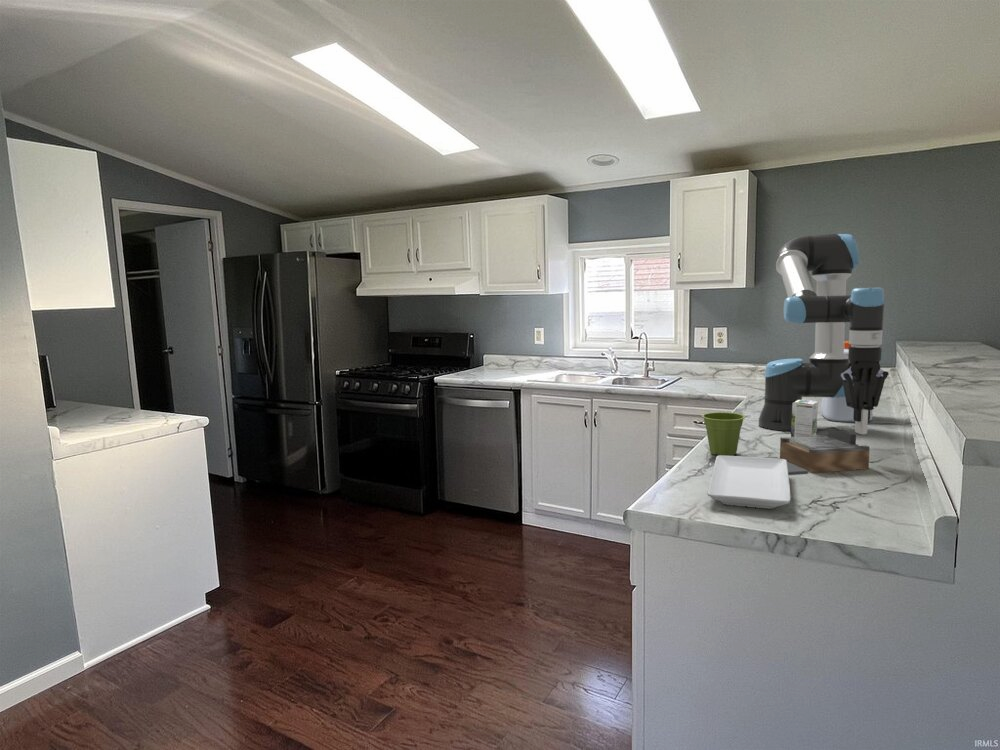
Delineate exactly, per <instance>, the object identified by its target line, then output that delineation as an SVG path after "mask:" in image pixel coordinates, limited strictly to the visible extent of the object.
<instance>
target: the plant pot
mask: <svg viewBox="0 0 1000 750" xmlns="http://www.w3.org/2000/svg"><path fill="white" fill-rule="evenodd" d="M701 418H702V419H703V421H704V425H705V429H706V435H707V441H708V446H709V447H708V448H709V452H710V453H711V454H712V455H717V456H735V455H737V452H738V451H737V450H738V446H739V441H740V436H741V435H740V434H741V429H742V426H743V422H744V420H745V419H746V416H745V414H740V413H736V412H728V411H727V412H726V411H725V412H724V411H723V412H721V411H719V412H717V411H716V412H708V413H703V414H701Z"/></svg>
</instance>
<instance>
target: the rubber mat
mask: <svg viewBox="0 0 1000 750" xmlns="http://www.w3.org/2000/svg"><path fill="white" fill-rule="evenodd" d="M764 458H775V459H780V457H778V456H771V457H770V456H769V457H764ZM787 468H788V475H796V474H797V475H798V474H808V471H807V470H805V469H803V468H800V467H798V466H796V465H794V464H792V463H789V462H787Z"/></svg>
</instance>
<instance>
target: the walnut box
mask: <svg viewBox="0 0 1000 750" xmlns="http://www.w3.org/2000/svg"><path fill="white" fill-rule="evenodd" d="M818 436H828V434H821V435H818ZM802 437H814V436H802ZM787 438H797V437H791V436H790V437H789V436H787V437H780V440H779V443H780V444H779V458H780V459H785V460H786V461H787V462H789V463H792V464H794V465H796V466H798V467H800V468H803V469H805V470H807V471H808V472H809V473H813V474H815V473H814V472H816V473H828V472H843V471H857V470H856V469H861V470H869V467H870V446H869V445H858V446H849V447H833V448H816V449H809V451H808V450H805V449H803V448H800V447H797V446H795V445H792V444H790V443H787Z"/></svg>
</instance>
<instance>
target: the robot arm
mask: <svg viewBox="0 0 1000 750" xmlns="http://www.w3.org/2000/svg"><path fill="white" fill-rule="evenodd" d="M859 260H860V255H859V246H858V243H857V240H856V238H855V236H853V235H852V234H849V233H833V234H831V233H830V234H819V235H815V234H814V235H802V236H797V237H795V238H792V239H790V240H789V241H787V242H786V243H785V244H783V245H782V246H781V247H780V248H779V250H778V251H777V253H776V255H775V259H774V265H775V269H776V272H777V273H778V274H779V275H780V276H781V277H782V281H783V285H784V289H785V292H786V295H787V297H786V298H785V299H784V301H783V319H784V321H785V322H787V323H791V324H812V323H815V335H814V353H812V355H810V356H809V362H804V359H803V358H798V357H797V358H784V359H783V358H782V359H777V360H772V361H769V362H768V363H767V364H766V366H765V371H764V373H765V374H764V377H765V379H764V380H765V381H764V382H765V383H764V405H763V407H762V409H761V412H760V415H759V417H758V424H759V425H760V426H762V427H761V428H763V427H764V429H767V428H768V429H767V430H772V429H773V430H774V431H785V432H789V431H790V432H791V424H792V405H793V403H794V402H795V401H797V400H803V398H822V397H831V398H835V397H845V399H846V404H847V406H848V407H851V408H853V409H854V415H853V419H854V421H855V422H854V423H855V424H854V432H855V434H856V433H857V434H860V435H867V434H868V421H869V420H870V410H872V411H873V410H874V408H877V407H878V406H879V404H880V403H879V402H880V399H881V396H882V395H881V394H882V392H883V388H884V384H885V381H886V379H887V378H888V376H889V374H890V373H889V372H888V371H885V370H883V369H882V368H881V364H880V361H882V352H883V351H882V349H883V348H882V347H881V345H882V344H883V331H884V330H883V326H884V311H885V309H884V308H885V302H886V299H885V290H884V288H882V287H855V288H853V289H852V290H851V294H850V295H849V294H848V295H847V288H846V287H847V280H848V279H849V278H850V277H851V276H852V275H853V272H852V271H854V270H856V269H857V268H858V266H859ZM810 272H811V275H810ZM812 278H813V280H815V281H816V288H815V286H814V283H813V280H812ZM846 323H849V333H848V341H849V344H850V345H851V347H850V348H849V353H848V356H847V355H845V353H844V341H845V332H846V331H845V327H846V326H845V325H846ZM849 361H850V362H849ZM853 384H854V386H853ZM869 422H870V421H869ZM759 425H758V426H759ZM760 426H759V427H760Z"/></svg>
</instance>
